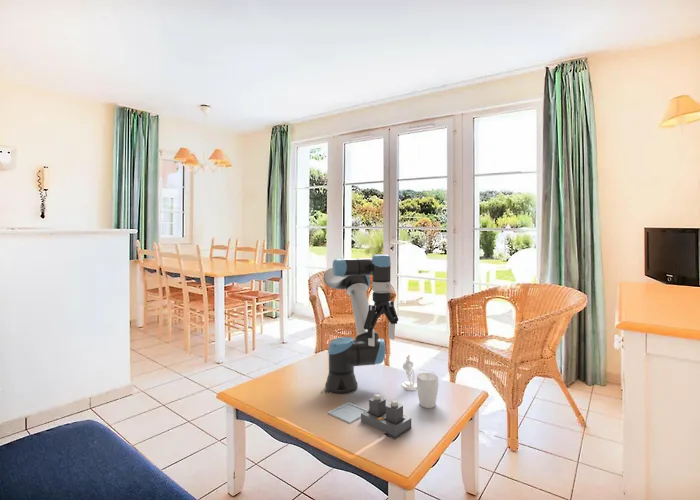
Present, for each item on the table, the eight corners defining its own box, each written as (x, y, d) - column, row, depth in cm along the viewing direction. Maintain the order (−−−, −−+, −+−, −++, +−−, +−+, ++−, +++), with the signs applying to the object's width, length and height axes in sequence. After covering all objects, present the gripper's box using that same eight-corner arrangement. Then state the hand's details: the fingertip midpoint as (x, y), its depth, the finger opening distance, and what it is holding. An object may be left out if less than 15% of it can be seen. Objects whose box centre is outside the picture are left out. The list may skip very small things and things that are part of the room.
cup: (438, 410, 153) (438, 381, 152) (416, 408, 155) (416, 379, 154) (438, 400, 162) (438, 373, 161) (416, 399, 163) (416, 371, 163)
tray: (327, 415, 149) (327, 412, 149) (348, 405, 158) (348, 402, 158) (349, 426, 141) (349, 422, 141) (370, 414, 150) (370, 411, 149)
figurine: (400, 382, 182) (399, 352, 181) (418, 382, 181) (418, 352, 181) (402, 390, 173) (401, 358, 172) (421, 390, 172) (421, 358, 172)
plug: (385, 427, 138) (385, 402, 137) (393, 422, 141) (393, 398, 141) (395, 431, 135) (395, 405, 134) (403, 427, 138) (403, 401, 137)
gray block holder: (361, 423, 142) (360, 396, 142) (377, 414, 150) (377, 388, 149) (395, 439, 131) (395, 410, 131) (411, 428, 139) (411, 400, 138)
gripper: (369, 296, 145) (369, 350, 145) (406, 289, 163) (406, 337, 164) (354, 294, 150) (355, 346, 151) (392, 287, 168) (392, 334, 169)
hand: (381, 342), depth 157 cm, fingers open, 13 cm apart
